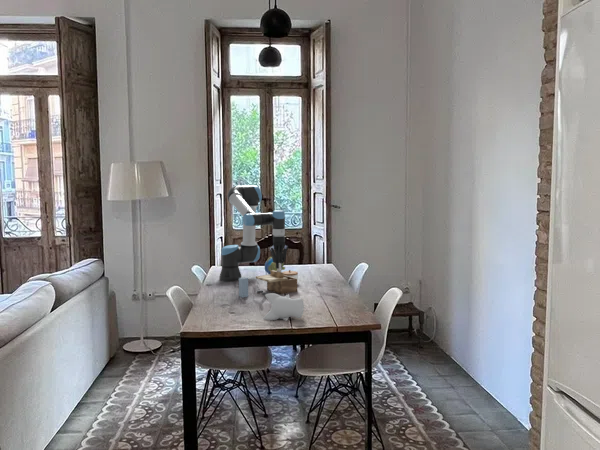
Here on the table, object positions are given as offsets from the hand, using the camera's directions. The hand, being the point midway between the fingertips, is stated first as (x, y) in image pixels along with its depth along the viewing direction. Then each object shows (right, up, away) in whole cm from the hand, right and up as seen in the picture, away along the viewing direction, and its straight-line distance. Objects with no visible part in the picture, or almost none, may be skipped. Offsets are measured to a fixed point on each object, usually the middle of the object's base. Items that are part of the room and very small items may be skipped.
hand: (279, 273), depth 330 cm
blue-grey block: (-21, -12, -13) cm, 27 cm away
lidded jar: (+6, -9, +22) cm, 25 cm away
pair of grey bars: (-10, -12, -6) cm, 16 cm away
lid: (-5, -3, -3) cm, 6 cm away
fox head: (+5, -17, -61) cm, 64 cm away
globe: (-4, -6, +55) cm, 55 cm away
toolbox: (+2, -11, +2) cm, 11 cm away
